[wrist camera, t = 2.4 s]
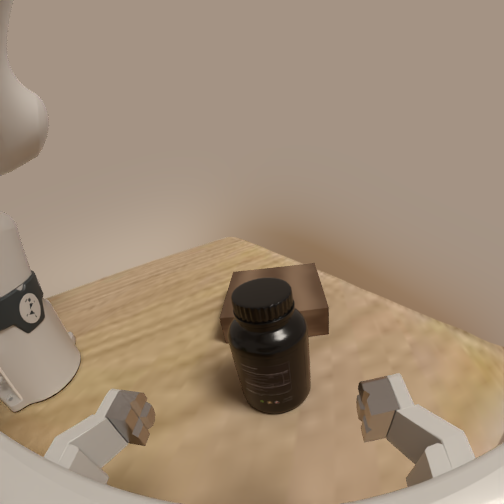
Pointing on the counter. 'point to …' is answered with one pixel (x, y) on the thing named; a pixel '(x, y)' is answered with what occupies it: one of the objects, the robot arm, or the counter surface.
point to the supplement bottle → (270, 345)
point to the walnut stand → (303, 290)
